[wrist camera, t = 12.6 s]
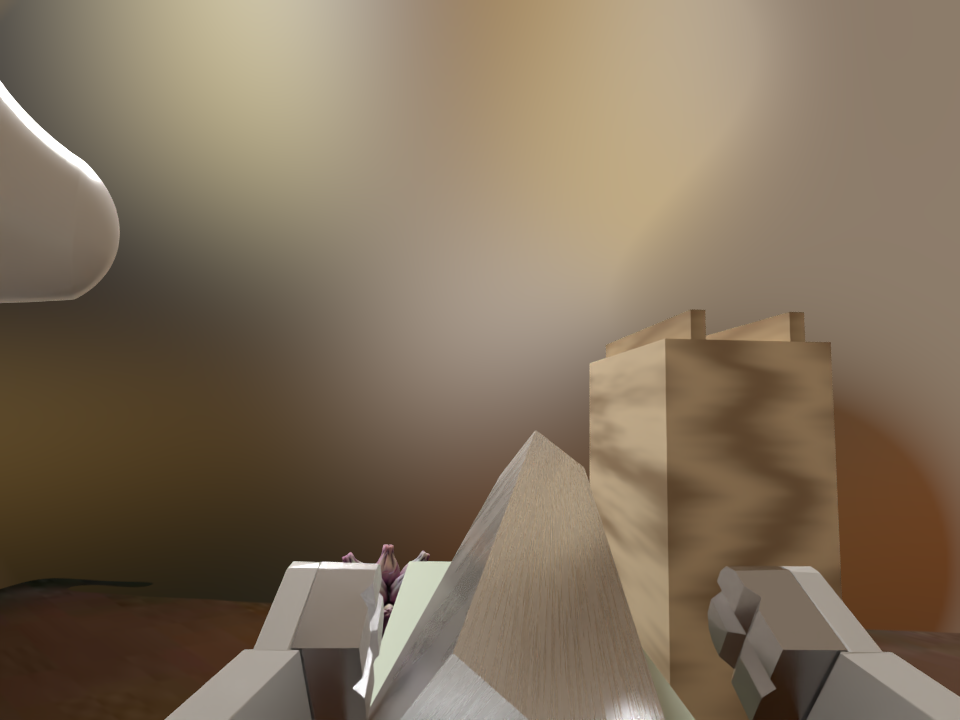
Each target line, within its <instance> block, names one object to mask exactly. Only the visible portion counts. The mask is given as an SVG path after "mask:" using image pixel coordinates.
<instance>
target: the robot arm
mask: <svg viewBox="0 0 960 720" xmlns="http://www.w3.org/2000/svg"><path fill="white" fill-rule="evenodd" d="M119 231H120V229H119V220H118V215H117V211H116V208H115V205H114V203H113V200H112V198H111V196H110V194H109V192H108V190H107V189H106V187H105V185H104V184H103V182H102V181H101V179H100V178H99V177H98V176H97V175H96V173H95V172H94V171H93V170H92V169H91V168H90V167H89V166H88V164H87V163H86V162H84V161H83V160H82V159H80V158H79V157H77V156H76V155H74V154H73V153H71V152H70V151H69V150H67V149H66V148H65V147H64V146H62V145H61V144H60V143H59V142H57V141H56V140H55V139H54V138H52V137H51V136H50V135H49V134H48V133H47V132H46V131H45V130H43V129H42V128H41V127H40V126H39V125H38V124H37V123H36V122H35V121H34V120H33V119H32V118H31V117H30V116H29V115H28V114H27V113H26V112H25V111H24V110H23V108H22V107H21V106H20V105H19V104H18V103H17V102H16V101H15V99H14V98H13V97H12V96H11V95H10V93H9V92H8V91H7V90H6V88H5V87H4V85H3V84H2V83H1V82H0V303H13V302H38V301H55V300H72V299H76V298H78V297H80V296H81V295H83V294H85V293H86V292H87V291H89V290H90V289H91V288H93V287H94V286H95V285H96V284H97V283H98V282H99V281H100V280H101V279H102V278H103V276H104V275H105V274H106V273H107V271H108V270H109V268H110V267H111V265H112V263H113V260H114V259H115V256H116V253H117V249H118V245H119V235H120V232H119ZM381 581H382V575H381V566H380V565H379V564H368V563H339V562H293V563H292V564H291V565H290V566H289V567H288V569H287V571H286V573H285V575H284V578H283V580H282V583H281V585H280V587H279V589H278V592H277V594H276V597H275V599H274V602H273V604H272V606H271V609H270V611H269V613H268V616H267V618H266V621H265V623H264V625H263V628H262V630H261V633H260V635H259V637H258V640H257V642H256V645H255V647H254V649H253V650H243V651H242V652H241V653H240V654H239V655H238V656H236V657H235V658H234V659H233V660H232V661H231V662H230V663H228V664H227V665H226V666H225V667H224V668H223V669H222V670H221V671H219V672H218V673H217V674H216V675H215V676H214V677H213V678H211V679H210V680H209V681H208V682H207V683H206V684H205V685H203V686H202V687H201V688H200V689H199V690H198V691H197V692H195V693H194V694H193V695H192V696H191V697H190V698H189V699H188V700H186V701H185V702H184V703H183V704H182V705H181V706H180V707H178V708H177V709H176V710H175V711H174V712H173V713H172V714H170V715H169V716H168V717H167V718H166V719H165V720H368V715H369V710H370V704H371V699H372V693H373V687H374V682H375V680H374V667H373V661H374V660H375V659H376V658H377V657H378V656H379V652H380V646H381V640H382V630H383V620H384V603H383V596H382V595H381V594H380V593H379V591H380V586H381ZM717 582H718V584H719V586H720V588H721V590H722V591H721V592H720V593H718V594H717V595H716V596H715V597H713V598H712V599H711V602H710V606H709V609H708V626H709V632H710V635H711V639H712V642H713V644H714V646H715V649H716V651H717V653H718V655H719V657H720V658H722V659H723V660H724V661H725V662H726V663H727V664H729V665H730V666H731V667H732V668H733V669H734V670H733V675H732V680H731V683H732V685H733V687H734V689H735V691H736V693H737V695H738V698H739V700H740V702H741V704H742V706H743V708H744V710H745V712H746V714H747V716H748V718H749V720H960V697H959V696H957V695H956V694H954V693H953V692H951V691H950V690H948V689H947V688H945V687H944V686H942V685H941V684H939V683H938V682H936V681H935V680H933V679H932V678H930V677H928V676H927V675H925V674H924V673H922V672H921V671H919V670H918V669H916V668H915V667H913V666H912V665H910V664H909V663H907V662H906V661H904V660H903V659H901V658H900V657H898V656H897V655H895V654H894V653H892V652H882V651H881V649H880V648H879V647H878V646H877V644H876V643H875V642H874V641H873V639H872V638H871V637H870V636H869V634H868V633H867V632H866V631H865V629H864V628H863V627H862V626H861V624H860V623H859V622H858V621H857V619H856V618H855V617H854V615H853V614H852V613H851V612H850V610H849V609H848V608H847V607H846V605H845V604H844V603H843V602H842V600H841V599H840V598H839V596H838V595H837V594H836V593H835V591H834V590H833V589H832V588H831V586H830V585H829V584H828V583H827V581H826V580H825V579H824V578H823V576H822V575H821V574H820V573H819V572H818V571H817V570H815V569H814V568H812V567H811V566H782V567H779V566H726V567H725V568H723V569H722V570H721V571H720V574H719V577H718V580H717Z"/></svg>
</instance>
